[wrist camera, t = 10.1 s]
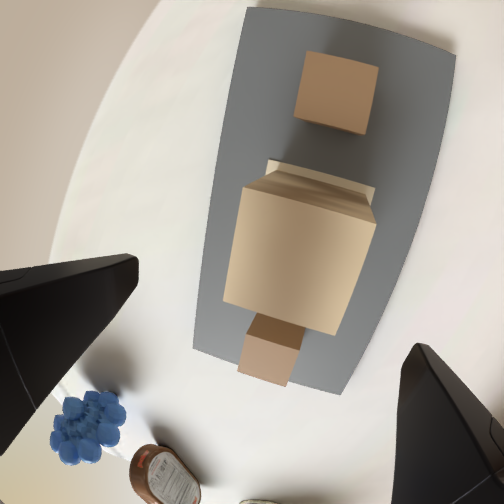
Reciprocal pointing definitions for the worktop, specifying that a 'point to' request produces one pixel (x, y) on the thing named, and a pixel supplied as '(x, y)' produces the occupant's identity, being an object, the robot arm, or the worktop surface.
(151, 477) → the tin
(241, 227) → the maple block
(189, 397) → the worktop surface
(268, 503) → the coffee can
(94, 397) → the grapes
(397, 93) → the board
